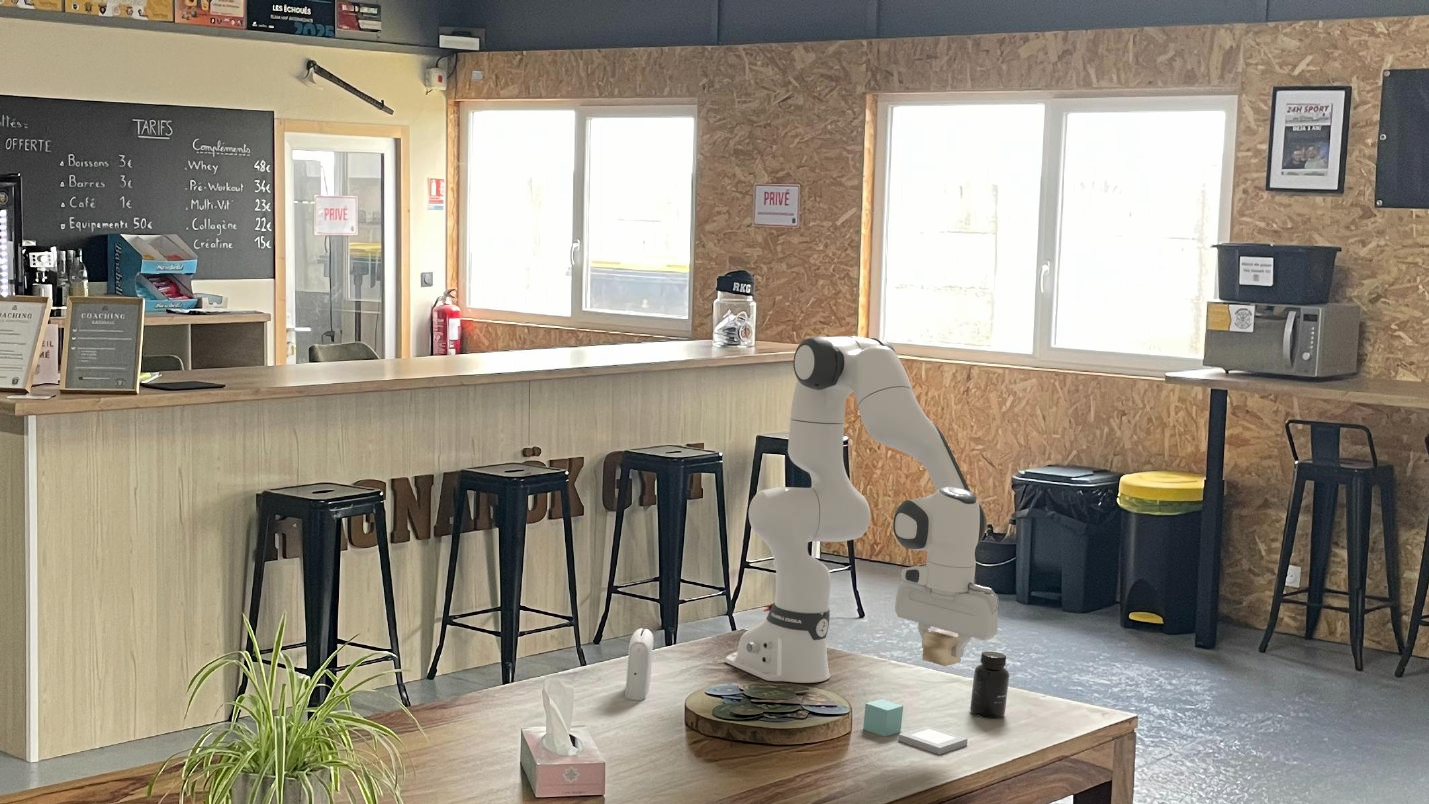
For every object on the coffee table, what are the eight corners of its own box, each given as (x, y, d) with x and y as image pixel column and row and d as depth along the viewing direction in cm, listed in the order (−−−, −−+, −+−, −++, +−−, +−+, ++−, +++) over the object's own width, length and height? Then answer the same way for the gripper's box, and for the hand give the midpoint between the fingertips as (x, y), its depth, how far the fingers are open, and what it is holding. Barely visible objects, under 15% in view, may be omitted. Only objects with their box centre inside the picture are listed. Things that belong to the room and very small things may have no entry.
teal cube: (863, 729, 295) (865, 703, 294) (878, 724, 298) (881, 698, 298) (884, 736, 291) (887, 710, 291) (900, 731, 295) (903, 705, 295)
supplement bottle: (1004, 721, 307) (1010, 661, 306) (969, 716, 308) (975, 656, 307) (1005, 711, 314) (1011, 652, 313) (970, 706, 315) (976, 647, 314)
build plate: (898, 740, 289) (898, 734, 289) (926, 731, 296) (926, 725, 296) (939, 754, 284) (940, 747, 283) (966, 745, 290) (967, 738, 290)
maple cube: (922, 659, 288) (924, 632, 287) (937, 655, 292) (940, 629, 291) (945, 666, 285) (947, 639, 284) (960, 662, 288) (963, 635, 288)
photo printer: (645, 702, 300) (651, 638, 299) (623, 699, 300) (628, 636, 299) (651, 686, 310) (656, 625, 309) (629, 684, 310) (634, 623, 309)
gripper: (1008, 588, 282) (1000, 663, 284) (913, 565, 296) (906, 637, 297) (989, 592, 277) (981, 669, 279) (894, 568, 291) (886, 641, 292)
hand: (942, 652), depth 288 cm, fingers closed on maple cube, 5 cm apart
